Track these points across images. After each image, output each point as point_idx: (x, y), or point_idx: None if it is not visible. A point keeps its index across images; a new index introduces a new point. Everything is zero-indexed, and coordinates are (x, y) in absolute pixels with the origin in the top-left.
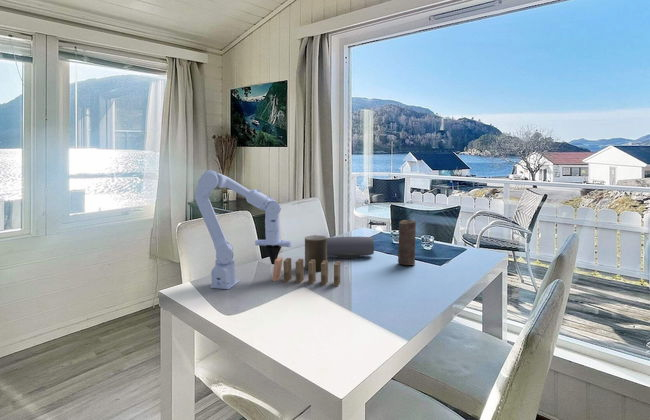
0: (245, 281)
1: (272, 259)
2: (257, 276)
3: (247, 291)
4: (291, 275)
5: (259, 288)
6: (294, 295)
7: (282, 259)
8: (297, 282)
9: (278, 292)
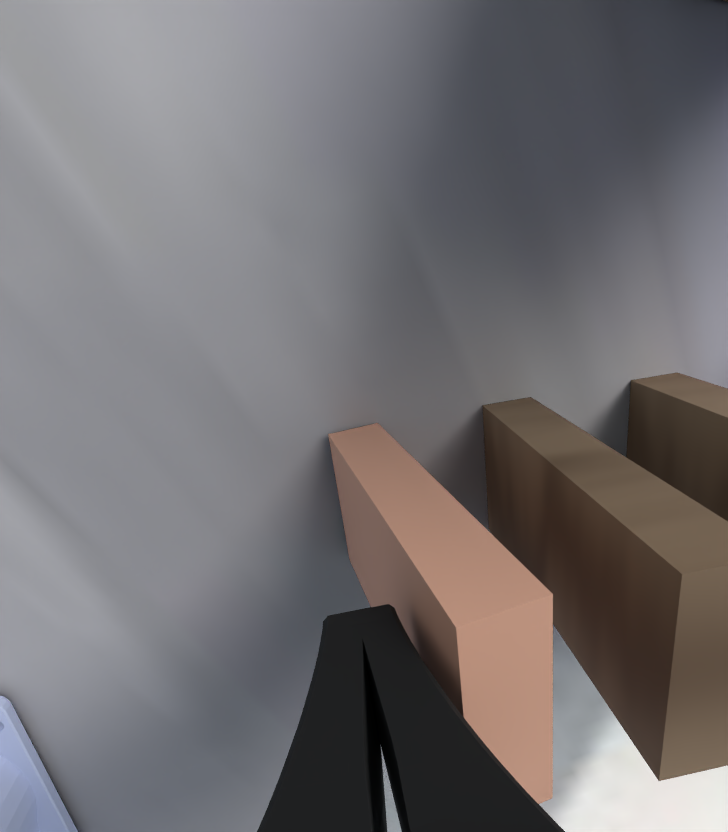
0: (70, 671)
1: (384, 800)
2: (76, 499)
3: None
4: (549, 414)
5: None
6: None
7: (525, 568)
8: None
9: None
